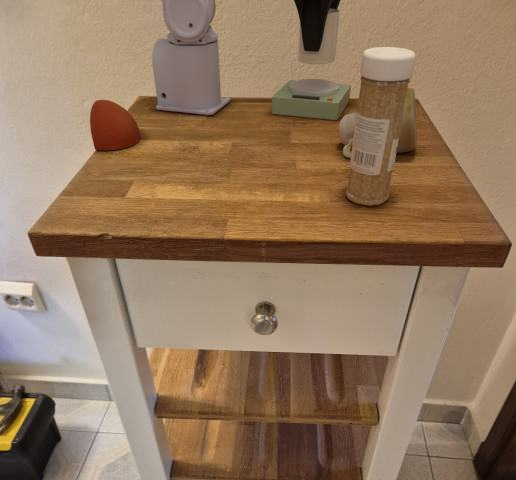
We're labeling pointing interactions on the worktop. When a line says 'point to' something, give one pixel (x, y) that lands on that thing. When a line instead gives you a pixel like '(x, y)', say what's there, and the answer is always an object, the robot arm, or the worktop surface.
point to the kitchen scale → (311, 99)
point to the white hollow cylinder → (327, 45)
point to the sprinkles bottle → (378, 122)
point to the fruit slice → (112, 126)
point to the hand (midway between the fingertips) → (316, 46)
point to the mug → (406, 132)
